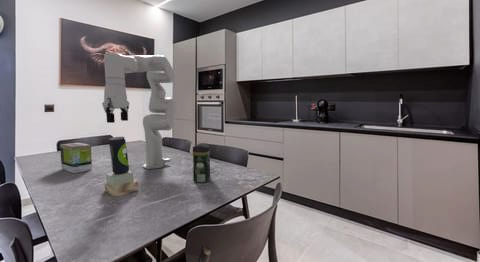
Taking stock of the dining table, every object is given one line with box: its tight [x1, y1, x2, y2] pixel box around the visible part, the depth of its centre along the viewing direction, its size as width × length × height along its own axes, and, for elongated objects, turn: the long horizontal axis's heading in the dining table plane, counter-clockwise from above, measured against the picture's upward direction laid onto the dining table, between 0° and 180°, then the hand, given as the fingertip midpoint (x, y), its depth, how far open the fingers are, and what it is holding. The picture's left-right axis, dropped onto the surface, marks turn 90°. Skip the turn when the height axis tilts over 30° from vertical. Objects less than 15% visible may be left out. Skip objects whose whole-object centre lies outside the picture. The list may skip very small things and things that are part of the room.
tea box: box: [59, 142, 93, 174], centre depth 133 cm, size 15×10×15 cm, turn 58°
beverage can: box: [108, 136, 130, 174], centre depth 99 cm, size 6×6×15 cm
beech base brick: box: [103, 178, 139, 198], centre depth 101 cm, size 10×10×5 cm
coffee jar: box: [192, 142, 211, 184], centre depth 116 cm, size 10×8×19 cm
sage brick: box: [105, 169, 135, 187], centre depth 100 cm, size 8×8×4 cm
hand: (118, 121), depth 105 cm, fingers open, 9 cm apart
